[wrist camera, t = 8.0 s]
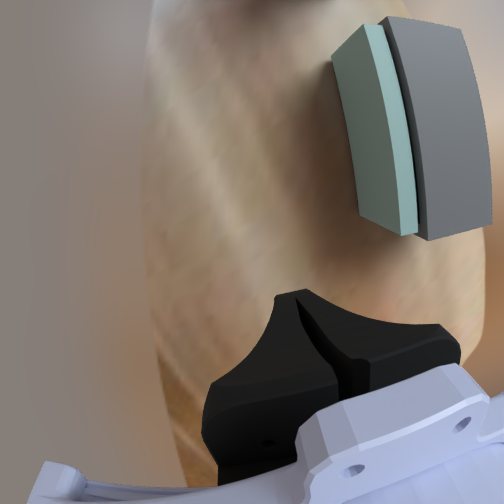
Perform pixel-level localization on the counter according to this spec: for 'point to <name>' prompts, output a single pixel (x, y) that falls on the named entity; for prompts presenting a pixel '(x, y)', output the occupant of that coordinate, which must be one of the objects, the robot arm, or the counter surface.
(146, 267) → the counter surface
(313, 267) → the counter surface
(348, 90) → the sage green bent plank
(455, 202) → the cupboard
